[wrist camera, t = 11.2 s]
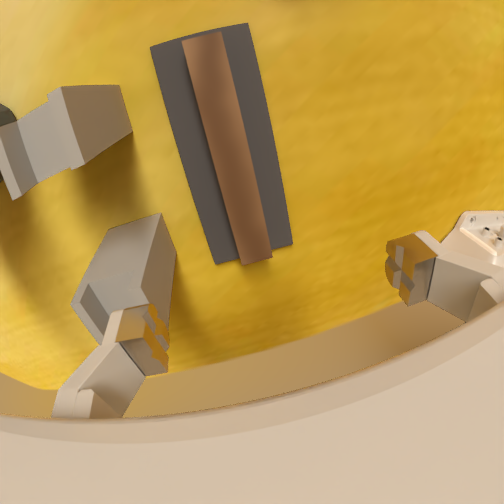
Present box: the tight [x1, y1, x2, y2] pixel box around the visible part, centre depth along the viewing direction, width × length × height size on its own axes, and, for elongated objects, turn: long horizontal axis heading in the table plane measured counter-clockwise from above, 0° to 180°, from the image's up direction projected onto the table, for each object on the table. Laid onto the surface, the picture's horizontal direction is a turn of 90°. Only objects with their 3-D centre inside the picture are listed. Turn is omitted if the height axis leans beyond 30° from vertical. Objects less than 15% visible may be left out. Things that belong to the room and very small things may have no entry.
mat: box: [150, 23, 293, 264], centre depth 27 cm, size 9×24×1 cm, turn 12°
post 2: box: [70, 213, 176, 345], centre depth 26 cm, size 6×5×12 cm
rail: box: [182, 31, 273, 265], centre depth 25 cm, size 3×22×3 cm, turn 12°
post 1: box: [0, 85, 133, 200], centre depth 18 cm, size 6×5×12 cm
